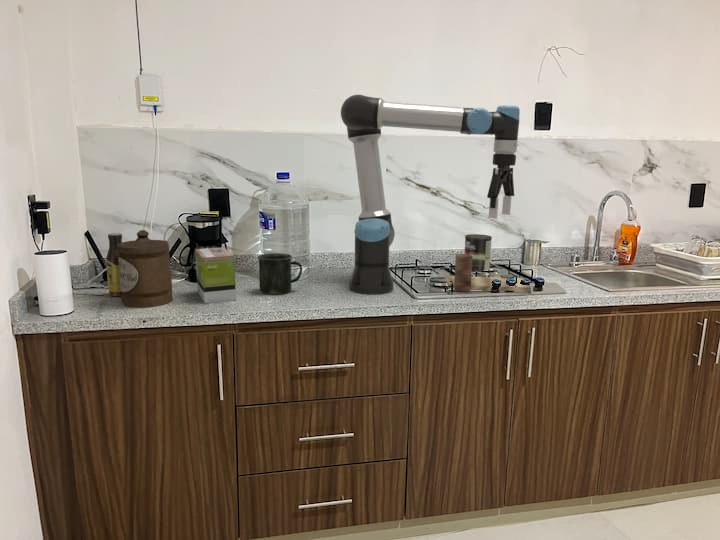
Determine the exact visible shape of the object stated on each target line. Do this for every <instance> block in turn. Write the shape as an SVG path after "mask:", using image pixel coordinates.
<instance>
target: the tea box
mask: <svg viewBox="0 0 720 540" xmlns="http://www.w3.org/2000/svg"><path fill="white" fill-rule="evenodd" d="M194 254H195V255H194V258H195V270H196V272H195V273H196V285H197V292H198V294H199V297H201V299H202V301H203V303H204V304H213V303H222V302H223V303H225V302H230V301H236V299H237V291H236V267H235V255H234V254H233V253H232V252H230V251H229V250H228V249H227V248H226V247H224V246H222V247H208V248H195V249H194Z"/></svg>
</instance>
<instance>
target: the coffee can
mask: <svg viewBox="0 0 720 540" xmlns="http://www.w3.org/2000/svg"><path fill="white" fill-rule="evenodd" d="M464 238H465V239H464V240H465V242H464V253H463V254H471V255H472V272H476V271H483V270H489V271H490V265H491V264H490V263H491V251H492V250H491V249H492V239H493V237H492V236H490V235H487V234H478V233H477V234H475V233H471V234H466V235H464Z"/></svg>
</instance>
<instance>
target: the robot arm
mask: <svg viewBox="0 0 720 540" xmlns="http://www.w3.org/2000/svg"><path fill="white" fill-rule="evenodd" d="M520 111H521V110H520V108H519V106H517V105H508V104H507V105H498V106H497V107H496V110H495V111H488V109H486V108H483V107H475V108H474V107H461V106H447V105H435V104H434V105H432V104H419V103H402V102H395V101H394V102H393V101H391V102H390V101H384V99H383V98H382V97H372V96H367V95H363V94H353V95H351V96H349V97H347V98H346V99H345V100H344V101H343V103H342V105H341V109H340V117H341V121H342V123H343V124H344V125H345V126H346V131H347V137H348V140H349V141H350V142H351V143H352V146H353V150H354V159H355V168H356V175H357V182H358V183H357V184H358V191H359V198H360V207H361V213H360V214H359V215H358V220H357V221H356V223H355V227H354V231H353V233H354V267H353V270H352V273H351V277H350V280H349V283H348V286H349V290H350V291H351V292H355V293H359V294H366V295H378V294H386V293H390V292H392V291H393V290H394V281H393V278H392V274H391V270H390V247H391V246H392V244H393V242H394V239H395V228H394V225H393V222H392V213H391V211H389V210H388V209H387V208H386V207H387V206H386V199H385V191H384V184H383V182H384V181H383V175H382V174H383V173H382V167H381V157H380V149H379V139H380V137H381V136H382V131H381V130H382V127H391V128H401V129H403V128H404V129H413V130H414V129H417V130H418V129H419V130H430V131H432V130H433V131H442V132H456V133H460V134H462V135H469V136H470V135H480V136H482V135H484V136H485V135H490V136H492V135H494V141H493V152H494V154H492V164H493V166H497V167H493V169H492V176H491V181H490V184H489V188H488V191H487V198H488V199H489V207H488V208H489V209H488V218H489V219H490V218H492V219H498V212H499V211H498V210H499V199H500V198H498V197H499V195H500V192H501V188H503V189H502V190H503V192H504V193H503V194H504V195H503V198H502V208H501V214H502V215H505V216H506V215H508V216H510V215H511V207H512V198H513V197H514V196H515V185H514V167H511V166H516V161H517V155H516V154H515V153H517V150H518V149H517V147H519V143H518V140H519V139H518V138H519V130H520V129H519V128H520V121H521V120H520Z"/></svg>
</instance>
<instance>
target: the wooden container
mask: <svg viewBox="0 0 720 540" xmlns="http://www.w3.org/2000/svg"><path fill="white" fill-rule="evenodd" d="M149 235H150V234H149V232H148V231H146V230H145V229H141V230H139V231H137V233H136V236H137V238H136V239H135V240H128V241H122V243H119V244H118V245H117V249H118V255H119V256H118V257H119V274H120V288H121V296H120V297H121V304H122V305H124V306H126V307H131V308H151V307H157V306H162V305H165V304H169V303H170V302H172V301H173V294H174V293H173V280H172V279H173V278H172V269H171V259H170V244H169V242H168V241H167V240H162V239H150V238H149Z"/></svg>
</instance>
